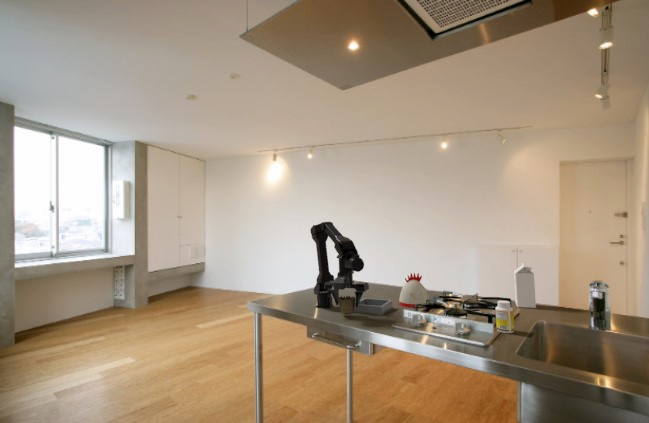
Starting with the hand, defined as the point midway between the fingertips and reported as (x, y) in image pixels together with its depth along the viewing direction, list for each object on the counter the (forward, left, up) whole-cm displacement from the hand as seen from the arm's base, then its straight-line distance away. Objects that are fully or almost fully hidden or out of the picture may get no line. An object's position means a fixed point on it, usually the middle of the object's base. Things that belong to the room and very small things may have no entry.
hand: (346, 306), depth 149 cm
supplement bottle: (+60, +2, -4) cm, 60 cm away
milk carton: (+66, +45, -4) cm, 81 cm away
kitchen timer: (+20, +32, -4) cm, 38 cm away
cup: (0, 0, -4) cm, 4 cm away
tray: (+6, +14, -4) cm, 16 cm away
